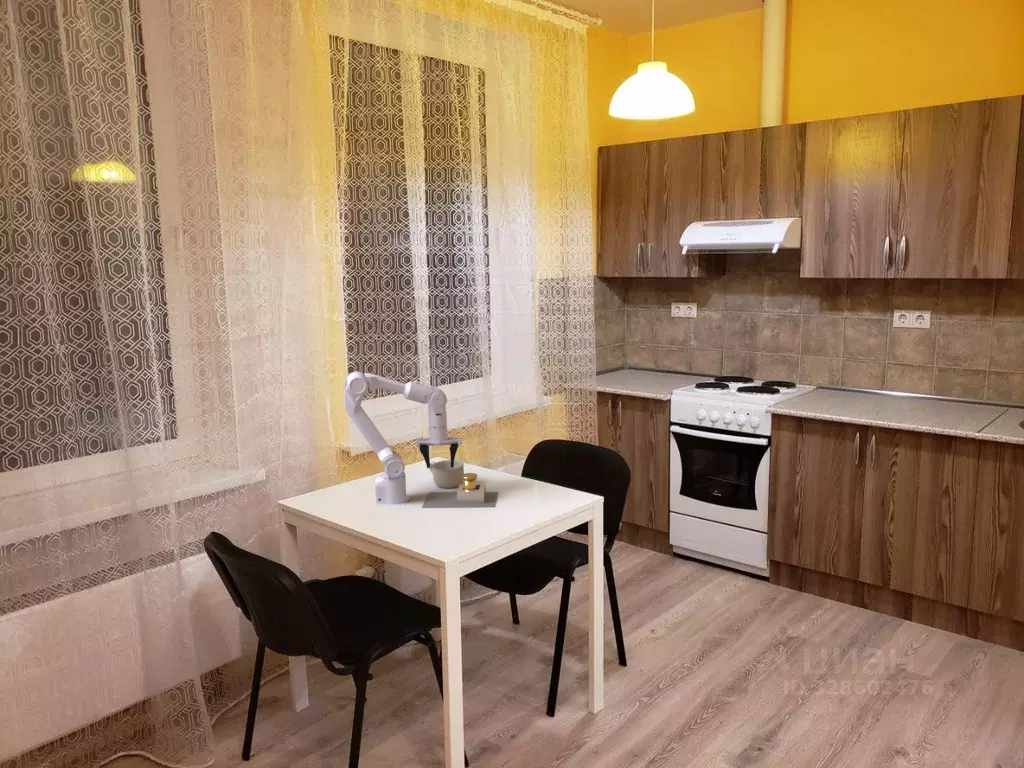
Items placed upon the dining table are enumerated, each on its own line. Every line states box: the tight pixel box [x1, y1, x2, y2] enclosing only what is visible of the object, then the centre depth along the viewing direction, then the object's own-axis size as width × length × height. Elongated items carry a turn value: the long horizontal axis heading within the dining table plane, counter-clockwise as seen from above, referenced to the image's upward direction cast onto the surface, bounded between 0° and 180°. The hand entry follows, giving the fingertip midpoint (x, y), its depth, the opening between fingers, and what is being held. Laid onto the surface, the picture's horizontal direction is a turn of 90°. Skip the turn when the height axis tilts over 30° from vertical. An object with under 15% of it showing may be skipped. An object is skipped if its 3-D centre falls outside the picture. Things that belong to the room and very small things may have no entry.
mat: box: [421, 491, 499, 509], centre depth 244 cm, size 23×16×1 cm
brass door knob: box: [462, 472, 478, 490], centre depth 243 cm, size 5×5×8 cm
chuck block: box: [456, 482, 487, 504], centre depth 244 cm, size 8×8×4 cm
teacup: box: [428, 459, 465, 489], centre depth 261 cm, size 14×11×8 cm
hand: (440, 467), depth 246 cm, fingers open, 7 cm apart
